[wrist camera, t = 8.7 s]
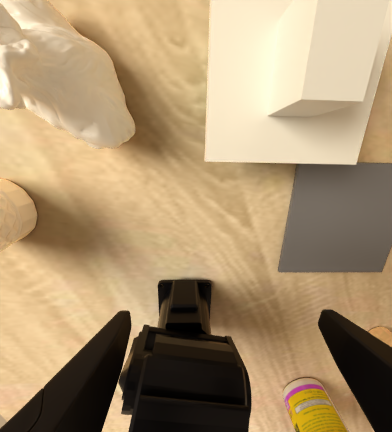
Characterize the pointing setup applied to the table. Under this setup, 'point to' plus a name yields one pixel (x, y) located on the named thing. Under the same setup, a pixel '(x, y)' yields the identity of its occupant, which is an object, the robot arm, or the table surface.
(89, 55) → the bust
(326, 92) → the lid
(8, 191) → the white cup
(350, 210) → the mat
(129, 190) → the table surface
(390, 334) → the milkshake
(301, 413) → the supplement bottle
